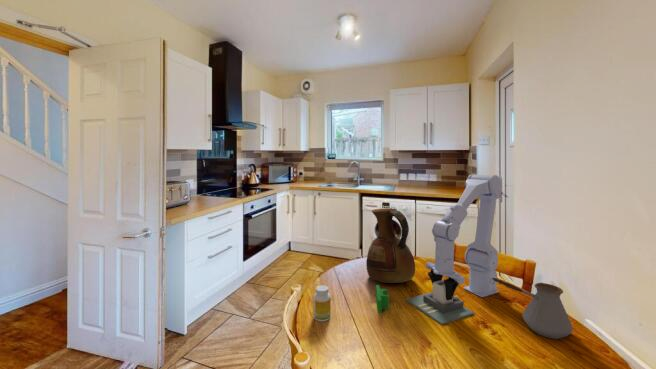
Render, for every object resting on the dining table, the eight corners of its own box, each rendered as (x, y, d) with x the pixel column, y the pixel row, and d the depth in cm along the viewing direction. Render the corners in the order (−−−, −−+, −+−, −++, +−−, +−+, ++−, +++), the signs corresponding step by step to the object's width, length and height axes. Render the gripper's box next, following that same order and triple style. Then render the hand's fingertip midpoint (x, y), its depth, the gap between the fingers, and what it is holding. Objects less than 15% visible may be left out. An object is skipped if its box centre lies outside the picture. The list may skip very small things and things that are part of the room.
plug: (442, 296, 97) (442, 279, 96) (452, 302, 93) (453, 284, 92) (432, 299, 95) (433, 281, 94) (443, 305, 91) (443, 287, 90)
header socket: (435, 292, 103) (435, 283, 103) (473, 314, 89) (474, 303, 89) (406, 300, 98) (406, 290, 97) (441, 324, 83) (442, 313, 83)
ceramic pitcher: (382, 266, 130) (383, 203, 127) (423, 279, 116) (425, 208, 113) (356, 279, 115) (356, 208, 113) (399, 295, 102) (401, 214, 99)
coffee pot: (554, 320, 85) (557, 273, 84) (583, 345, 74) (587, 291, 73) (480, 315, 88) (482, 270, 87) (497, 338, 77) (500, 286, 76)
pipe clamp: (389, 314, 89) (389, 300, 89) (377, 313, 90) (378, 300, 89) (386, 297, 100) (386, 285, 100) (376, 296, 101) (376, 284, 100)
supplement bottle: (311, 315, 89) (310, 286, 88) (326, 311, 91) (326, 282, 90) (317, 323, 84) (317, 293, 83) (333, 319, 86) (333, 289, 85)
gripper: (419, 252, 98) (418, 289, 99) (453, 266, 84) (452, 308, 86) (434, 249, 101) (433, 285, 102) (469, 262, 87) (468, 303, 89)
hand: (443, 295), depth 94 cm, fingers closed on plug, 4 cm apart
